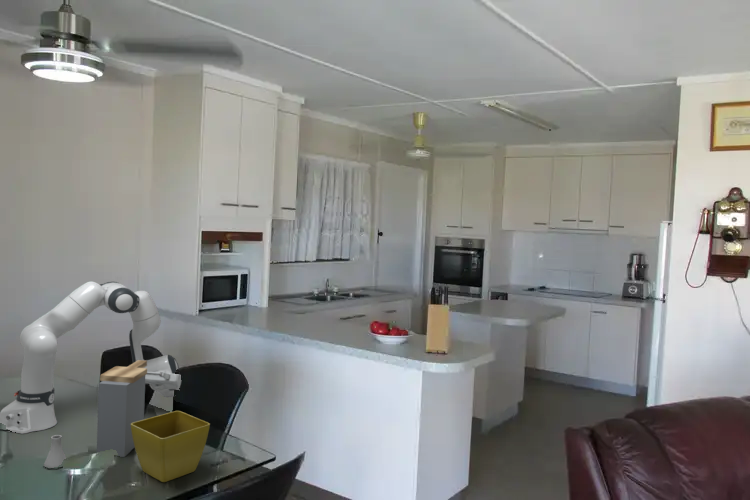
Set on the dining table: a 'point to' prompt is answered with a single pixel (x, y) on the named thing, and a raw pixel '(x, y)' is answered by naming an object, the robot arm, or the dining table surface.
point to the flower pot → (169, 444)
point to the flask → (55, 453)
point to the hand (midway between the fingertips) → (150, 373)
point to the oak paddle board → (126, 373)
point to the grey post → (119, 414)
